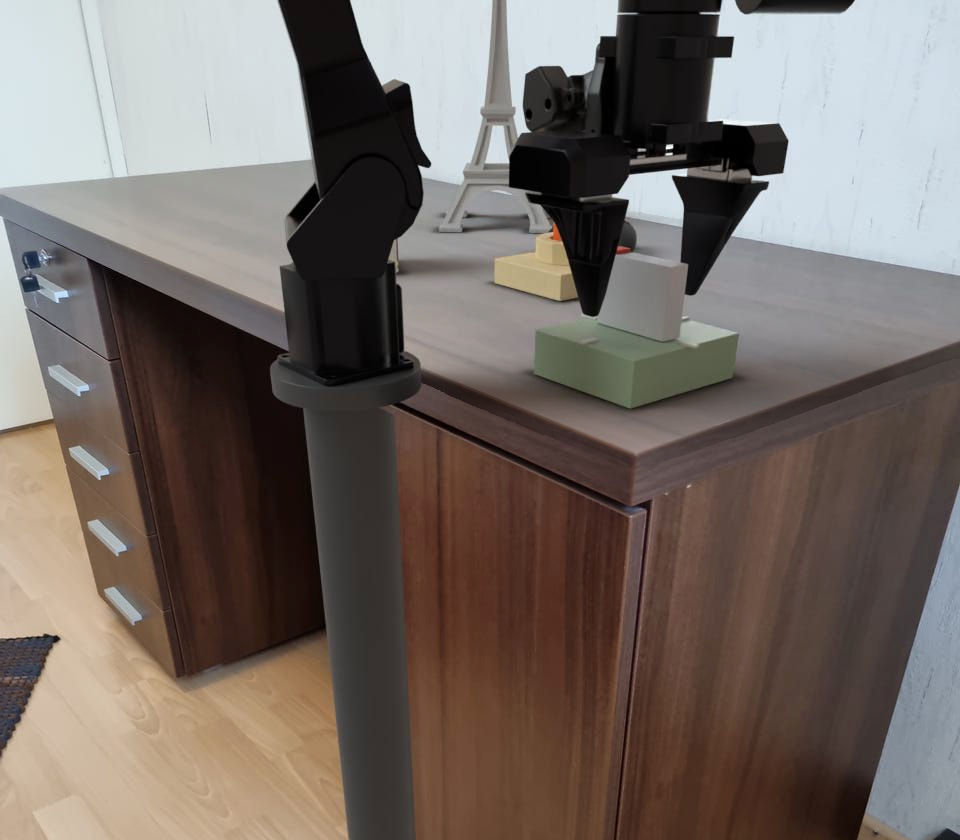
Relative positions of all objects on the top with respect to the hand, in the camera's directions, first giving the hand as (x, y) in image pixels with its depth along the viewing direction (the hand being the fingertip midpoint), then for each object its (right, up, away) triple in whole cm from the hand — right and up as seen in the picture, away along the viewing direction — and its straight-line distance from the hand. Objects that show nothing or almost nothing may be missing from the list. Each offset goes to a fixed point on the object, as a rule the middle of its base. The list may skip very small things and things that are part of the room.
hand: (641, 304), depth 60 cm
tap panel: (0, -4, +3) cm, 5 cm away
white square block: (0, -1, +1) cm, 2 cm away
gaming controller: (+2, +20, +39) cm, 44 cm away
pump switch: (-2, +11, +26) cm, 28 cm away
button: (-2, +14, +24) cm, 28 cm away
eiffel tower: (-8, +30, +54) cm, 62 cm away
